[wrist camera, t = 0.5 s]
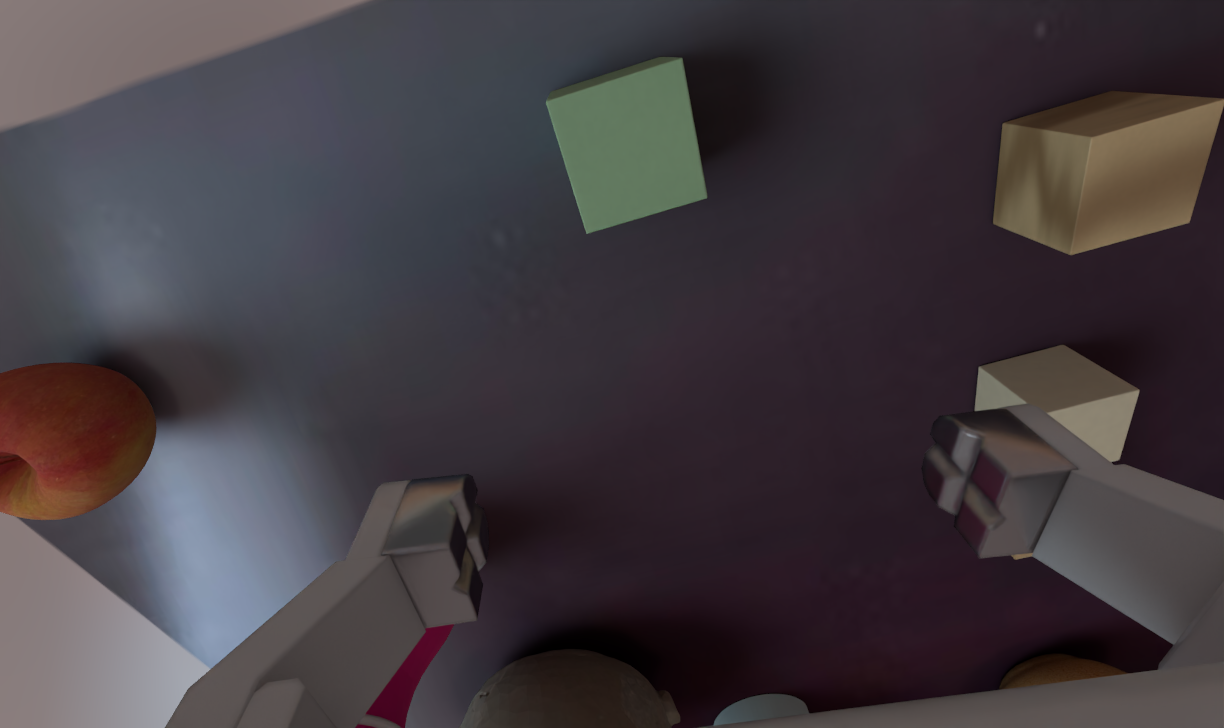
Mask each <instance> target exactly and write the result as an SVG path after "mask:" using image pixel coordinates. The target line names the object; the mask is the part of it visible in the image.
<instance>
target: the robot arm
mask: <svg viewBox="0 0 1224 728" xmlns="http://www.w3.org/2000/svg"><path fill="white" fill-rule="evenodd" d="M930 435H931V437H932V438H933V439H934V441H935V442H936V443H935V444H934V445H933V446H932V447H931V448H930V449H929V450H928V451H927V452H926V453H925V454H924V459H923V464H922V468H921V469H922V475H923V481H924V485H925V487H926V489H927V491H928V493H929V495H930V496H931V498H932V499H933V500H934V502H935V503H936V504H937V506H938V507H940V508H942V509H944V510H946V511H948V512H950V513H952V514H954V515H955V520H954V527H955V528H956V530H957V531H958V532H959V533H960V535H961V536H962V537H963V538H964V540H965V541H966V542H967V543H968V544H969V546H970V547H971V548H972V549H973V551H974V552H975V553H976V554H977V556H978V557H979V558H986V557H997V556H1007V555H1018V554H1028V553H1033V554H1032V556H1033V557H1034V558H1036V559H1038V560H1039V561H1041V562H1042V563H1044V564H1046V565H1047V566H1049V567H1050V568H1052V569H1054V570H1055V571H1057V572H1058V573H1060V574H1062V575H1063V576H1065V577H1066V578H1068V579H1070V580H1071V581H1073V582H1074V583H1076V584H1078V585H1079V586H1081V587H1082V588H1084V589H1086V590H1087V591H1089V592H1090V593H1092V594H1093V595H1095V596H1097V597H1098V598H1100V599H1101V600H1103V601H1105V602H1106V603H1108V604H1109V605H1111V606H1113V607H1114V608H1116V609H1117V610H1119V611H1121V612H1122V613H1124V614H1125V615H1127V616H1129V617H1130V618H1132V619H1133V620H1135V621H1137V622H1138V623H1140V624H1141V625H1143V626H1145V627H1146V628H1148V629H1149V630H1151V631H1153V632H1154V633H1156V634H1157V635H1159V636H1160V637H1162V638H1164V639H1165V640H1167V641H1168V642H1170V643H1172V644H1173V647H1172V648H1171V649H1170V650H1169V652H1168V653H1167V654H1166V655H1165V657H1164V658H1163V659H1162V661H1161V662H1160V663H1159V667H1158V670H1154V671H1146V672H1138V673H1130V674H1122V675H1114V676H1106V677H1098V678H1090V679H1082V680H1074V681H1066V682H1058V683H1050V684H1042V685H1034V686H1026V687H1018V688H1010V689H1002V690H994V691H986V692H978V693H970V694H962V695H953V696H945V697H937V698H929V699H921V700H913V701H905V702H897V703H889V704H881V705H873V706H865V707H857V708H849V709H841V710H833V711H825V712H818V713H810V714H802V715H794V716H786V717H778V718H770V719H762V720H754V721H746V722H738V723H730V724H722V725H714V726H707V727H699V728H1224V500H1221V499H1219V498H1216V497H1213V496H1210V495H1208V494H1205V493H1202V492H1199V491H1197V490H1194V489H1191V488H1188V487H1186V486H1183V485H1180V484H1177V483H1175V482H1172V481H1169V480H1166V479H1164V478H1161V477H1158V476H1155V475H1153V474H1150V473H1147V472H1144V471H1142V470H1139V469H1136V468H1133V467H1131V466H1128V465H1125V464H1122V465H1114V464H1112V463H1111V462H1110V461H1108V460H1107V459H1106V458H1104V457H1103V456H1102V455H1101V454H1099V453H1098V452H1097V451H1095V450H1094V449H1093V448H1091V447H1090V446H1089V445H1088V444H1086V443H1085V442H1084V441H1082V440H1081V439H1080V438H1078V437H1077V436H1076V435H1075V434H1073V433H1072V432H1071V431H1069V430H1068V429H1067V428H1065V427H1064V426H1063V425H1062V424H1060V423H1059V422H1058V421H1056V420H1055V419H1054V418H1052V417H1051V416H1050V415H1049V414H1047V413H1046V412H1045V411H1043V410H1042V409H1041V408H1039V407H1037V406H1034V405H1031V404H1021V405H1014V406H1007V407H999V408H997V409H988V410H980V411H973V412H965V413H957V414H950V415H942V416H939V417H938V418H937V419H936V420H935V421H934V423H933V425H932V429H931V432H930ZM476 496H477V487H476V484H475V482H474V479H473V476H471V475H469V474H462V475H452V476H441V477H431V478H421V479H412V480H407V481H397V482H387V483H383V484H382V485H380V486H379V487H378V488H377V490H376V492H375V494H374V496H373V498H372V501H371V503H370V505H369V508H368V510H367V512H366V514H365V517H364V519H363V521H362V523H361V526H360V528H359V530H358V532H357V535H356V537H355V539H354V542H353V544H352V546H351V548H350V551H349V553H348V555H347V557H346V560H345V561H337V562H335V563H334V564H333V565H332V566H330V567H329V568H328V569H327V570H326V571H325V572H323V573H322V574H321V575H320V576H319V577H318V578H316V579H315V580H314V581H313V582H312V583H311V584H310V585H308V586H307V587H306V588H305V589H304V590H303V591H301V592H300V593H299V594H298V595H297V596H296V597H294V598H293V599H292V600H291V601H290V602H289V603H287V604H286V605H285V606H284V607H283V608H282V609H280V610H279V611H278V612H277V613H276V614H275V615H273V616H272V617H271V618H270V619H269V620H268V621H266V622H265V623H264V624H263V625H262V626H261V627H259V628H258V629H257V630H256V631H255V632H254V633H252V634H251V635H250V636H249V637H248V638H247V639H245V640H244V641H243V642H242V643H241V644H240V645H239V646H237V647H236V648H235V649H234V650H233V651H232V652H230V653H229V654H228V655H227V656H226V657H225V658H223V659H222V660H221V661H220V662H219V663H218V664H216V665H215V666H214V667H213V668H212V669H211V670H209V671H208V672H207V673H206V674H205V675H204V676H202V677H201V678H200V679H199V680H198V681H197V682H196V683H194V684H193V685H192V686H191V687H190V688H189V689H188V690H187V692H186V693H185V695H184V697H183V699H182V700H181V702H180V704H179V705H178V707H177V708H176V710H175V712H174V713H173V715H172V717H171V719H170V720H169V722H168V724H167V725H166V727H165V728H355V727H356V726H357V724H358V723H359V722H360V720H361V719H362V718H363V716H364V715H365V714H366V712H367V711H368V710H369V708H370V707H371V705H372V704H373V703H374V701H375V700H376V699H377V697H378V696H379V695H380V693H381V692H382V691H383V689H384V688H385V686H386V685H387V684H388V682H389V681H390V680H391V678H392V677H393V676H394V674H395V673H396V672H397V670H398V669H399V667H400V666H401V665H402V663H403V662H404V661H405V659H406V658H407V657H408V655H409V654H410V653H411V651H412V650H413V648H414V647H415V646H416V644H417V643H418V642H419V640H420V639H421V638H422V636H423V635H424V634H425V632H426V630H425V628H431V627H438V626H444V625H451V624H457V623H464V622H470V621H477V618H478V612H479V606H480V600H481V594H482V588H483V583H482V580H481V577H480V574H479V572H478V571H479V570H480V569H481V568H482V567H483V566H484V565H485V563H486V562H487V557H488V550H489V530H488V524H487V518H486V515H485V512H484V508H482V507H481V506H479V505H478V504H476V503H475V501H476Z"/></svg>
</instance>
